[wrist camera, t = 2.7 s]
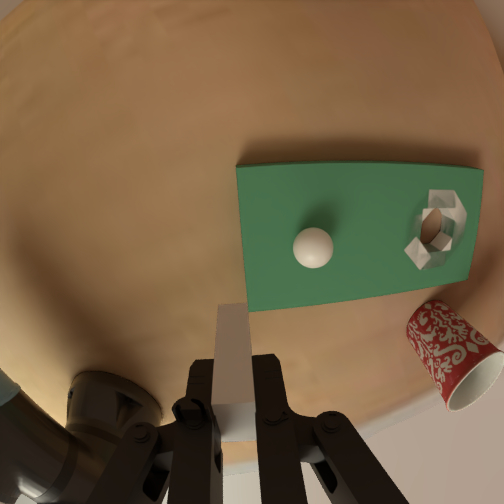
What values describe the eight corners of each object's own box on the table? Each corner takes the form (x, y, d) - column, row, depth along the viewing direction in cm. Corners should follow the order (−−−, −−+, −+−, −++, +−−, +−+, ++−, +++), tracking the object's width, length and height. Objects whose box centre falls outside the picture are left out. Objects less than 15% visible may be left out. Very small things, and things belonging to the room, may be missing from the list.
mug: (396, 312, 34) (450, 384, 21) (449, 282, 33) (511, 338, 20) (404, 370, 38) (442, 434, 26) (450, 343, 37) (494, 398, 25)
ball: (290, 260, 27) (297, 277, 24) (289, 223, 26) (297, 236, 23) (326, 256, 27) (337, 272, 24) (326, 221, 26) (339, 233, 23)
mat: (247, 299, 31) (248, 312, 29) (235, 165, 26) (235, 168, 24) (456, 271, 32) (467, 279, 30) (470, 166, 27) (483, 170, 25)
